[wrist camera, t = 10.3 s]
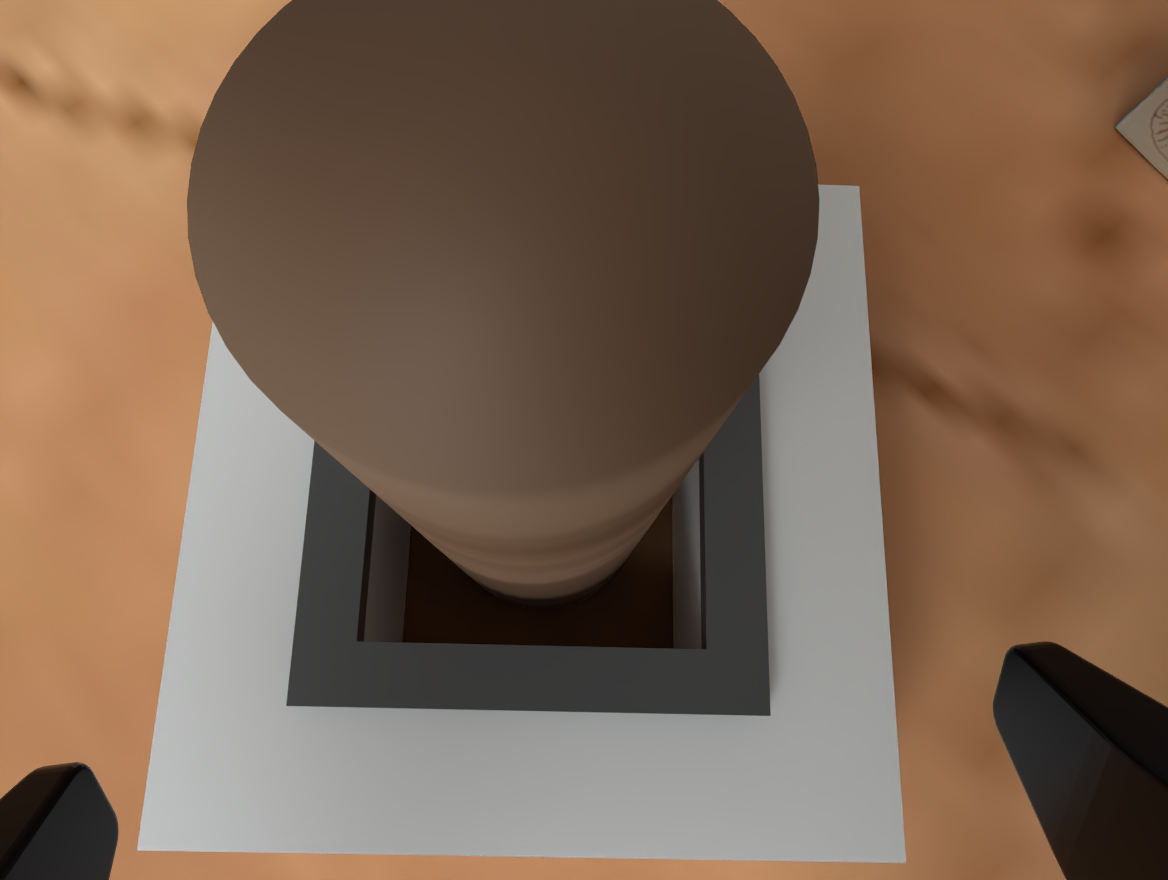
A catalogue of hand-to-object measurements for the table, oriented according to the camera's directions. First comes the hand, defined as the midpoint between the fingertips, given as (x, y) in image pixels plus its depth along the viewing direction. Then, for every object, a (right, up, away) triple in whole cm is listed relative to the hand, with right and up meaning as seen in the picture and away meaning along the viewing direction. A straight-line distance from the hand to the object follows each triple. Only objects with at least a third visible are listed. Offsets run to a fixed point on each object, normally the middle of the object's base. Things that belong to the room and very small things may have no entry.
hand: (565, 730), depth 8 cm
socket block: (-1, +1, +10) cm, 10 cm away
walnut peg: (-1, +1, +10) cm, 10 cm away
